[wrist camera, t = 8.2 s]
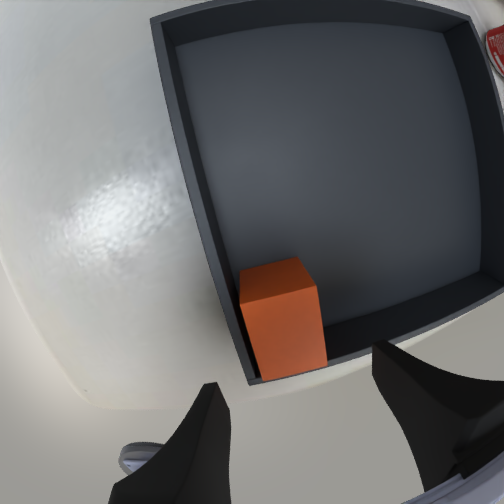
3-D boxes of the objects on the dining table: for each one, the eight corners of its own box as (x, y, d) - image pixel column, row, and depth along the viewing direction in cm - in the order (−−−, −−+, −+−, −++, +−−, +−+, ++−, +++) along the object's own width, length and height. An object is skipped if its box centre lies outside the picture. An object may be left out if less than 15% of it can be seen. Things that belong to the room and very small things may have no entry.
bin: (478, 272, 21) (508, 289, 17) (247, 348, 22) (249, 386, 17) (440, 30, 14) (470, 15, 10) (166, 46, 15) (149, 18, 11)
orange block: (310, 324, 20) (328, 365, 16) (258, 337, 21) (263, 381, 16) (297, 256, 19) (316, 285, 14) (239, 270, 19) (239, 304, 14)
